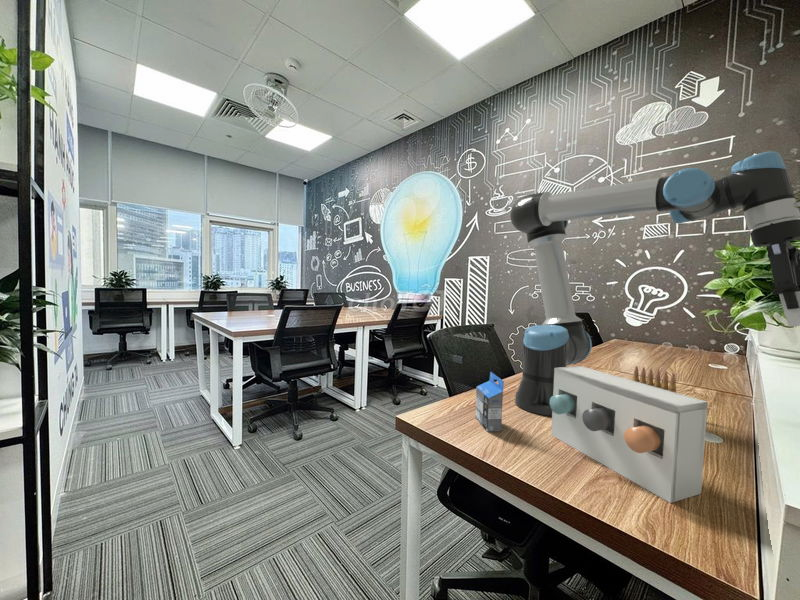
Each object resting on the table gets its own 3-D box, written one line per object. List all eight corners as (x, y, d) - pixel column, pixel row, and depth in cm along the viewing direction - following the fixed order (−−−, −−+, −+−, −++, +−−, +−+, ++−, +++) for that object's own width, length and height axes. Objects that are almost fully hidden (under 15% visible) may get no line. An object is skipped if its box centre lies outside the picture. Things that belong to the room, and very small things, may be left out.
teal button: (549, 410, 73) (550, 392, 73) (559, 408, 74) (560, 391, 74) (563, 417, 69) (564, 398, 69) (574, 415, 70) (575, 397, 70)
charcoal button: (581, 426, 65) (582, 406, 65) (592, 424, 66) (593, 404, 66) (600, 434, 61) (601, 414, 61) (611, 432, 62) (612, 412, 62)
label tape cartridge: (474, 417, 86) (476, 371, 85) (488, 416, 86) (490, 371, 85) (486, 432, 77) (488, 381, 76) (502, 432, 77) (504, 381, 77)
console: (551, 435, 76) (554, 367, 75) (576, 430, 79) (580, 365, 78) (670, 503, 53) (676, 406, 52) (701, 493, 55) (707, 401, 55)
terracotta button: (623, 446, 57) (624, 423, 57) (635, 443, 58) (636, 421, 58) (647, 457, 53) (648, 433, 53) (659, 455, 54) (661, 431, 54)
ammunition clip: (676, 415, 91) (678, 373, 90) (674, 416, 90) (676, 373, 89) (631, 403, 99) (634, 364, 99) (629, 404, 98) (631, 365, 98)
